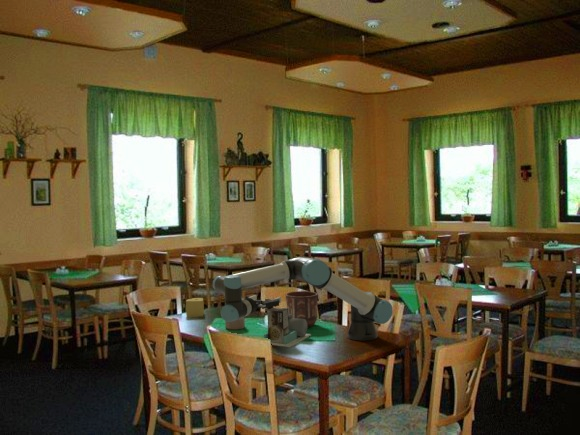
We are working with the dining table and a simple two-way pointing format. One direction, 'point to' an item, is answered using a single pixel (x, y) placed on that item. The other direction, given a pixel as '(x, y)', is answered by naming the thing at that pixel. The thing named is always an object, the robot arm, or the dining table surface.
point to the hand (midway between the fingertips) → (268, 298)
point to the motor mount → (293, 332)
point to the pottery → (303, 306)
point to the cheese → (194, 307)
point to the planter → (236, 324)
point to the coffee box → (277, 324)
